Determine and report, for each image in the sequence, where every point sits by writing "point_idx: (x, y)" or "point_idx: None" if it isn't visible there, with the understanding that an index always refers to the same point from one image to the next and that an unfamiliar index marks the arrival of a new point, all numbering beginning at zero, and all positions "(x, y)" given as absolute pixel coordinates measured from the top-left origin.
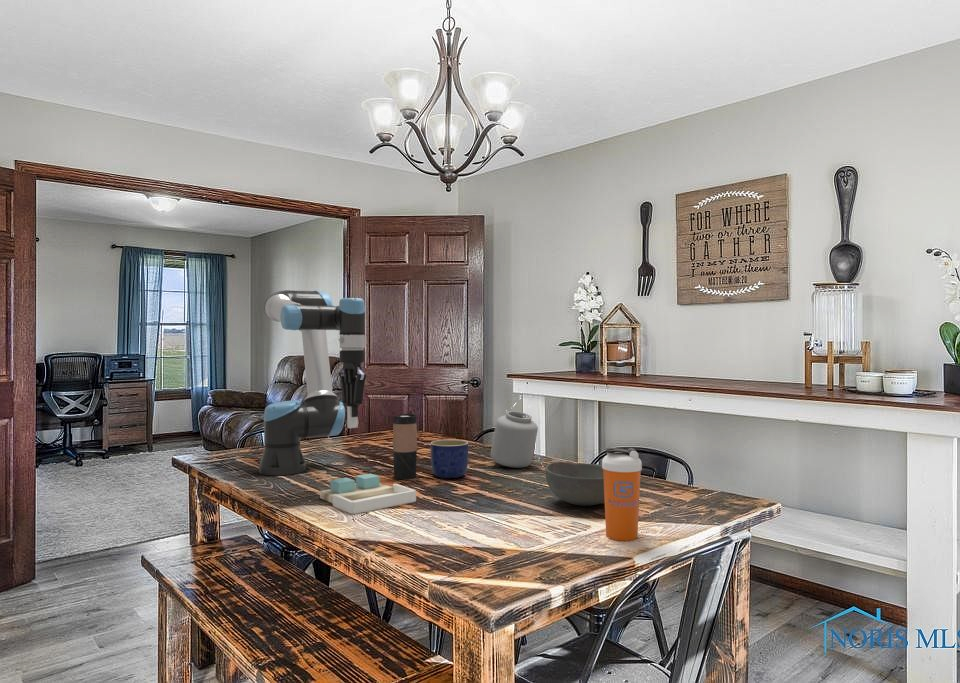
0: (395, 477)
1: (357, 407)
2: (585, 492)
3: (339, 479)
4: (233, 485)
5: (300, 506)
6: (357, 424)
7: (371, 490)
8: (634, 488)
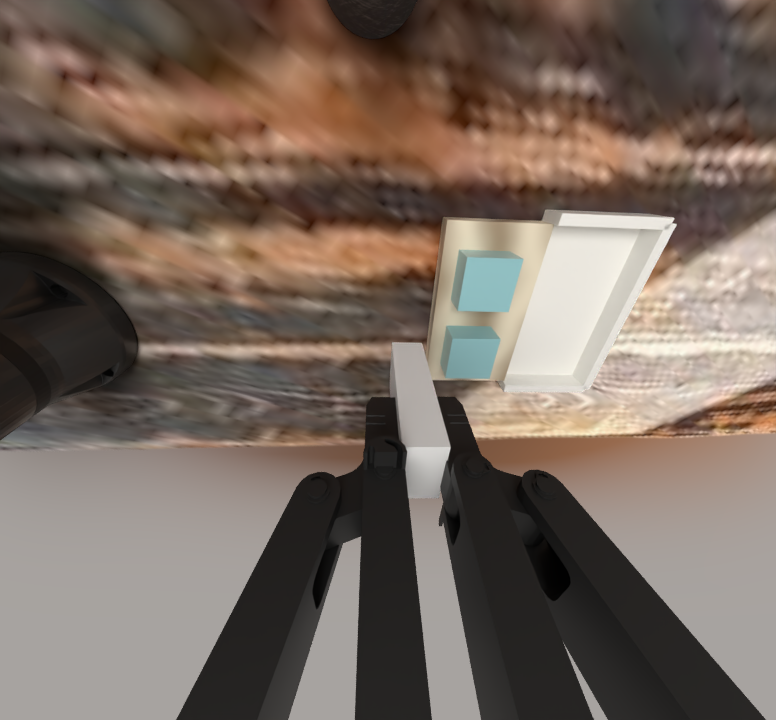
0: (368, 38)
1: (480, 454)
2: None
3: (459, 361)
4: (208, 443)
5: None
6: (423, 354)
7: (522, 292)
8: None
